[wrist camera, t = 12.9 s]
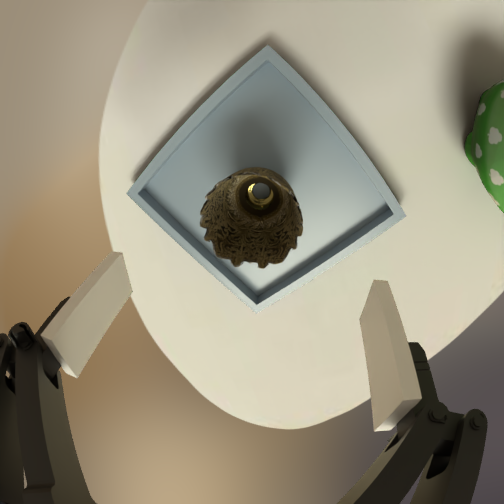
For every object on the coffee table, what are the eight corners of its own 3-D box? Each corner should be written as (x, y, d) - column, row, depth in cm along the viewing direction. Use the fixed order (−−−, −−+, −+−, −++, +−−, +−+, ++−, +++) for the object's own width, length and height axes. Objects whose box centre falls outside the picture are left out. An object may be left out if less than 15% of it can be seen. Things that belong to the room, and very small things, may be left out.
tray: (269, 48, 20) (267, 44, 18) (399, 208, 26) (406, 216, 24) (135, 187, 28) (126, 193, 27) (258, 302, 34) (256, 313, 33)
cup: (304, 157, 24) (309, 180, 17) (296, 229, 28) (296, 274, 21) (223, 150, 25) (197, 171, 18) (223, 221, 29) (201, 264, 22)
